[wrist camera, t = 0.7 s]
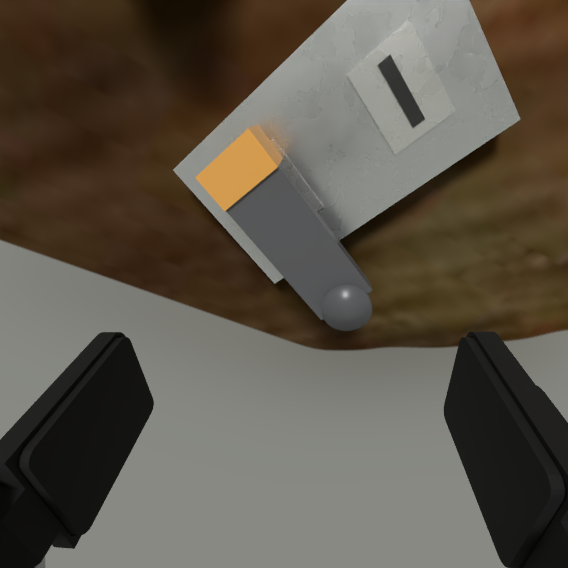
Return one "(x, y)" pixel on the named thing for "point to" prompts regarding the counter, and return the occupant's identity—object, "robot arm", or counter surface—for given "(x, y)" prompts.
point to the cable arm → (288, 229)
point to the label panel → (369, 110)
